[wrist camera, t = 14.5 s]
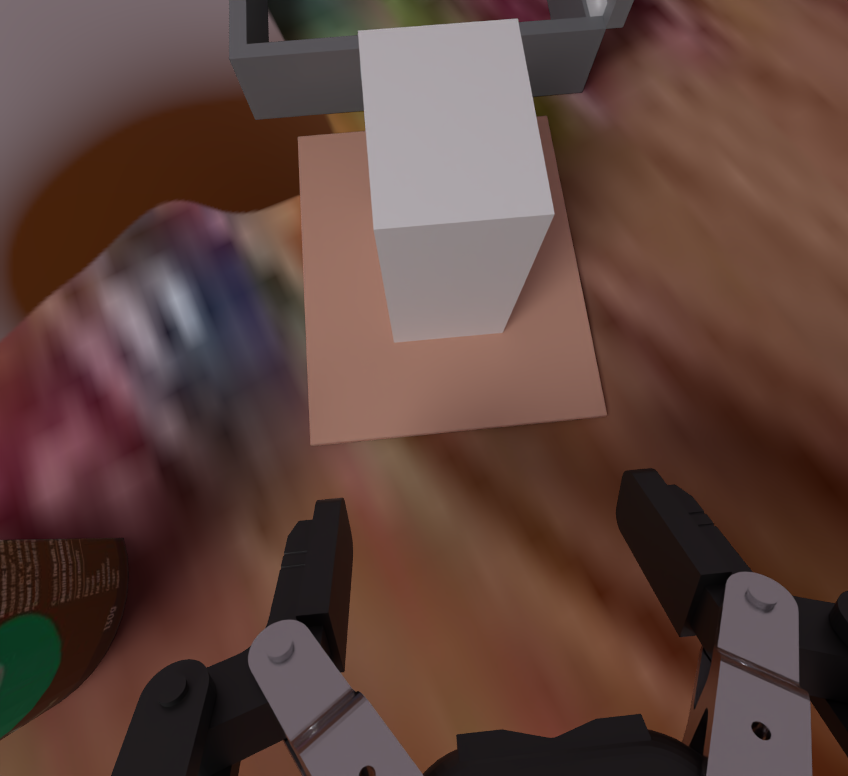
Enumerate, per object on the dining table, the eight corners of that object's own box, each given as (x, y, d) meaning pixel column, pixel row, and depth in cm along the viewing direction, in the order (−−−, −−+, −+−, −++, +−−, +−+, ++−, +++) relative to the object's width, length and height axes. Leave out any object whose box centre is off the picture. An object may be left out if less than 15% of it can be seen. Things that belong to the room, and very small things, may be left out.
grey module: (484, 193, 24) (519, 8, 15) (504, 332, 22) (558, 213, 13) (379, 202, 24) (353, 21, 15) (391, 342, 22) (370, 230, 13)
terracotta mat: (545, 121, 25) (547, 115, 25) (603, 416, 21) (607, 415, 21) (299, 142, 25) (297, 136, 25) (312, 445, 21) (310, 444, 21)
